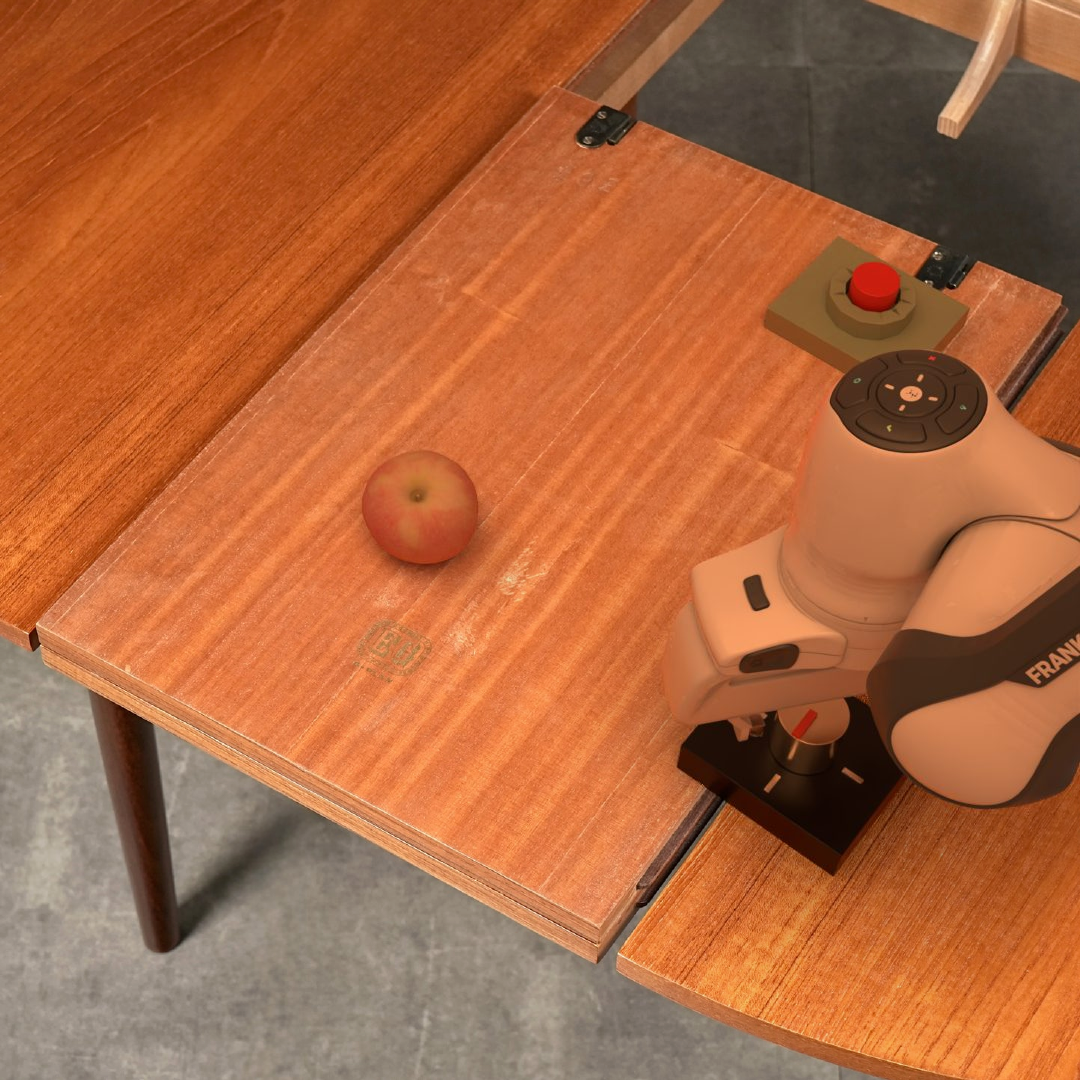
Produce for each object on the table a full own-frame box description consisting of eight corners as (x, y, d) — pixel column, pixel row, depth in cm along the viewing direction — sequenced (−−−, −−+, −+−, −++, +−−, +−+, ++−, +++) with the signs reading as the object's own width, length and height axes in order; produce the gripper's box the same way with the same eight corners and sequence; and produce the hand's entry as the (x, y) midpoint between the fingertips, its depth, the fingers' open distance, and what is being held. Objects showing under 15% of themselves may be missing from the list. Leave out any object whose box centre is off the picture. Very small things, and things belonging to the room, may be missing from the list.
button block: (963, 327, 131) (975, 291, 128) (896, 403, 127) (906, 368, 124) (833, 255, 136) (841, 218, 132) (763, 327, 131) (770, 291, 128)
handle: (793, 700, 109) (803, 666, 105) (852, 738, 107) (864, 705, 104) (755, 748, 107) (764, 715, 103) (815, 788, 105) (826, 755, 102)
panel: (917, 764, 110) (927, 741, 107) (833, 877, 105) (841, 855, 102) (763, 663, 114) (769, 638, 111) (676, 767, 109) (680, 744, 106)
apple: (347, 563, 118) (338, 495, 111) (397, 484, 122) (392, 413, 115) (450, 605, 116) (447, 538, 109) (497, 522, 120) (498, 453, 113)
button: (905, 292, 128) (909, 276, 127) (879, 319, 127) (884, 303, 125) (864, 270, 130) (868, 254, 128) (839, 297, 128) (843, 281, 127)
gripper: (1017, 509, 95) (965, 643, 106) (662, 570, 92) (647, 700, 103) (1060, 601, 91) (1002, 729, 102) (692, 667, 88) (673, 791, 100)
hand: (821, 715), depth 103 cm, fingers open, 8 cm apart
